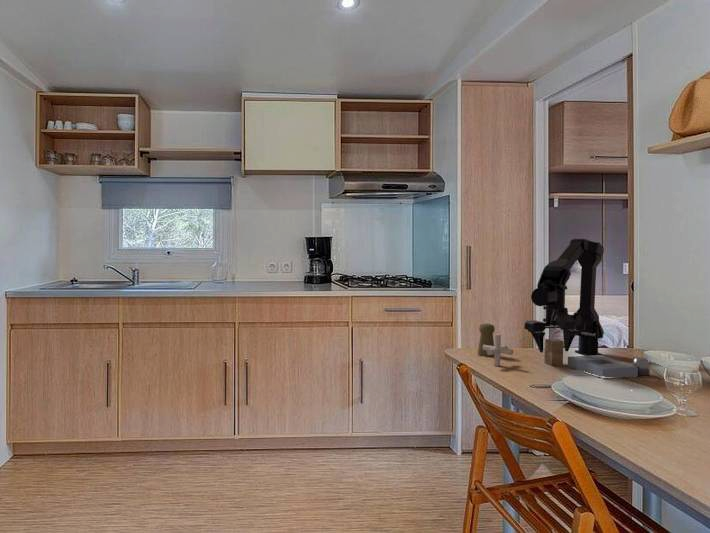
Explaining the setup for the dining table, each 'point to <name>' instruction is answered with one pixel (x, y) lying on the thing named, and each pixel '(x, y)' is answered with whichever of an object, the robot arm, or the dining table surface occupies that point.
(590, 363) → the bore block
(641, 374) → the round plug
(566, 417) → the dining table surface
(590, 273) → the robot arm
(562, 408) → the dining table surface
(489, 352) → the pipe connector
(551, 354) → the square peg
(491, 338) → the dark green pepper mill
